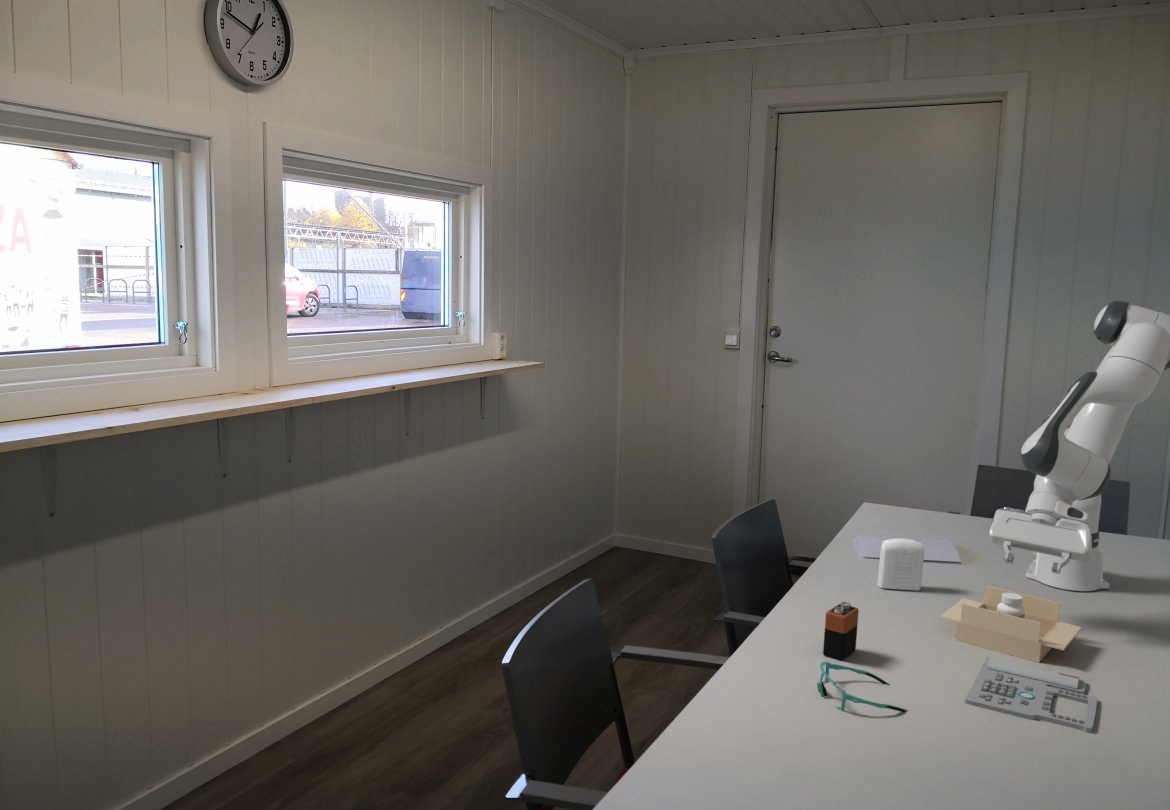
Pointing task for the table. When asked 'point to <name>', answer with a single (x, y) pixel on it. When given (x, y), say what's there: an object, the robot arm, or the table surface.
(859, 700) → the sunglasses
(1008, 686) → the office telephone
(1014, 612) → the supplement bottle
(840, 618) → the battery
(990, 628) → the carton
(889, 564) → the photo printer
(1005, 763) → the table surface
